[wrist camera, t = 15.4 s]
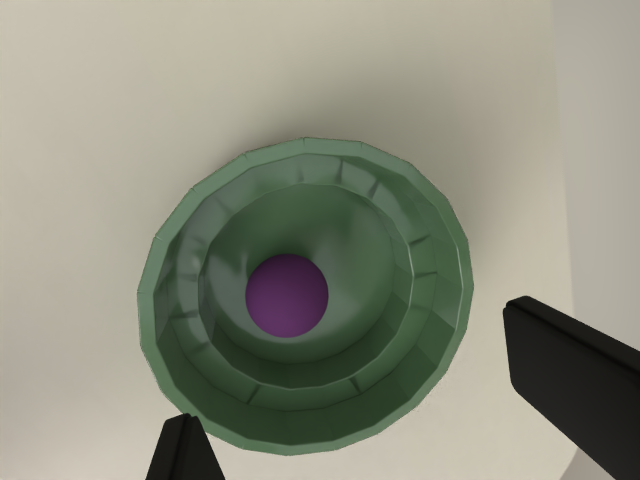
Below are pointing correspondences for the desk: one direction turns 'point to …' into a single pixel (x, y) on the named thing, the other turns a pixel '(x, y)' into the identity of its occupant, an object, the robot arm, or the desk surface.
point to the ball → (286, 295)
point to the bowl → (343, 304)
